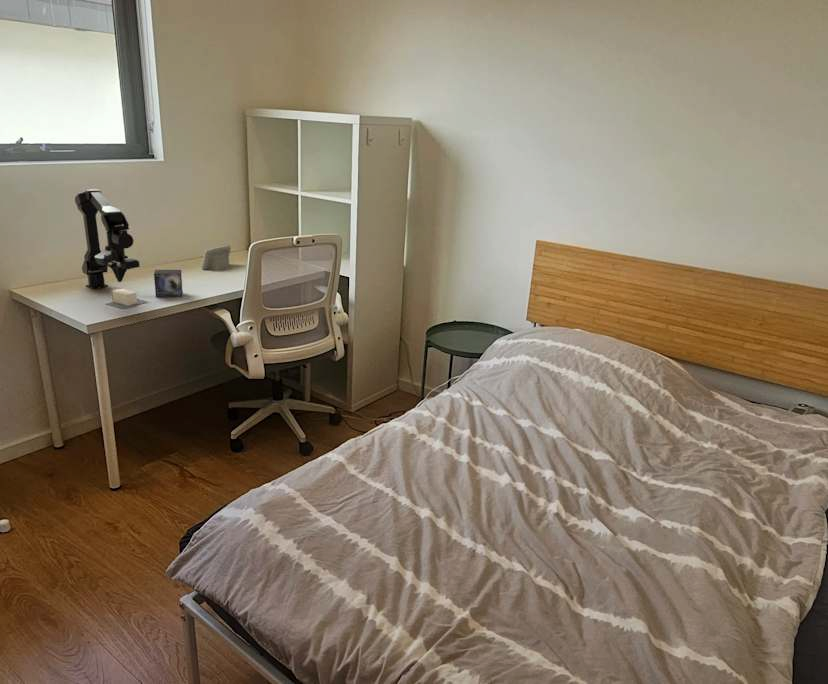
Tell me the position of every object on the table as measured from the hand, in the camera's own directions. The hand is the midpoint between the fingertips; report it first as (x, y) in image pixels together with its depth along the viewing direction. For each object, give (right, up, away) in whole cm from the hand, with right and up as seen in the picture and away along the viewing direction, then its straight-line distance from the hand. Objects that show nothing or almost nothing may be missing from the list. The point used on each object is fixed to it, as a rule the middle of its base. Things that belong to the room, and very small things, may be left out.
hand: (119, 281), depth 244 cm
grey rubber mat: (+2, -9, +2) cm, 9 cm away
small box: (+14, -4, +15) cm, 21 cm away
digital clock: (+19, +13, +62) cm, 66 cm away
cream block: (-3, -5, +3) cm, 6 cm away
